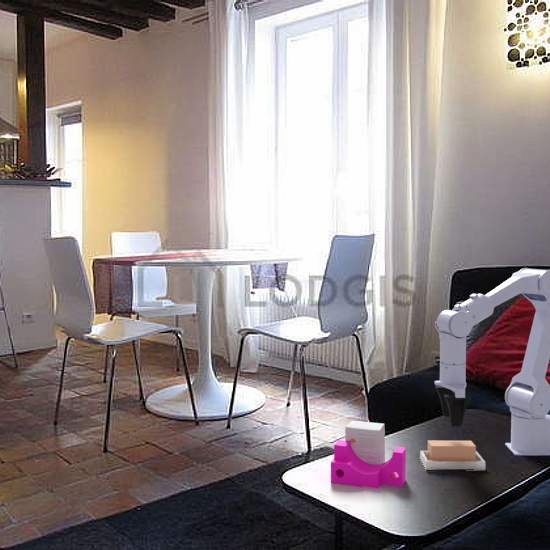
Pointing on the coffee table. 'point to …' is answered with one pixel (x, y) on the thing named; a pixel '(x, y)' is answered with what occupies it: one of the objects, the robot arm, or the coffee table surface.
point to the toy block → (366, 468)
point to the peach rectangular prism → (451, 451)
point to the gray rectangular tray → (452, 463)
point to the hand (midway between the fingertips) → (452, 421)
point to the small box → (367, 440)
